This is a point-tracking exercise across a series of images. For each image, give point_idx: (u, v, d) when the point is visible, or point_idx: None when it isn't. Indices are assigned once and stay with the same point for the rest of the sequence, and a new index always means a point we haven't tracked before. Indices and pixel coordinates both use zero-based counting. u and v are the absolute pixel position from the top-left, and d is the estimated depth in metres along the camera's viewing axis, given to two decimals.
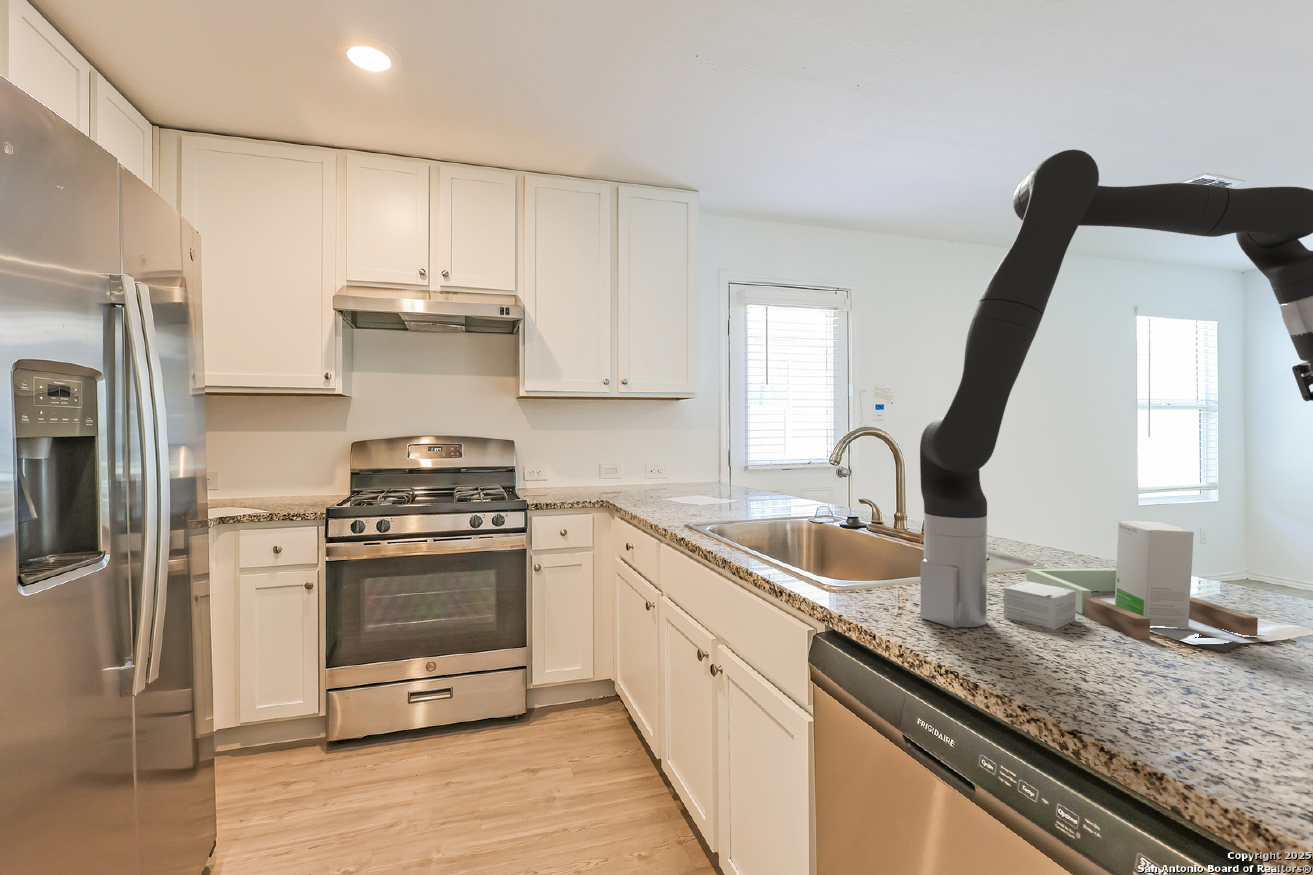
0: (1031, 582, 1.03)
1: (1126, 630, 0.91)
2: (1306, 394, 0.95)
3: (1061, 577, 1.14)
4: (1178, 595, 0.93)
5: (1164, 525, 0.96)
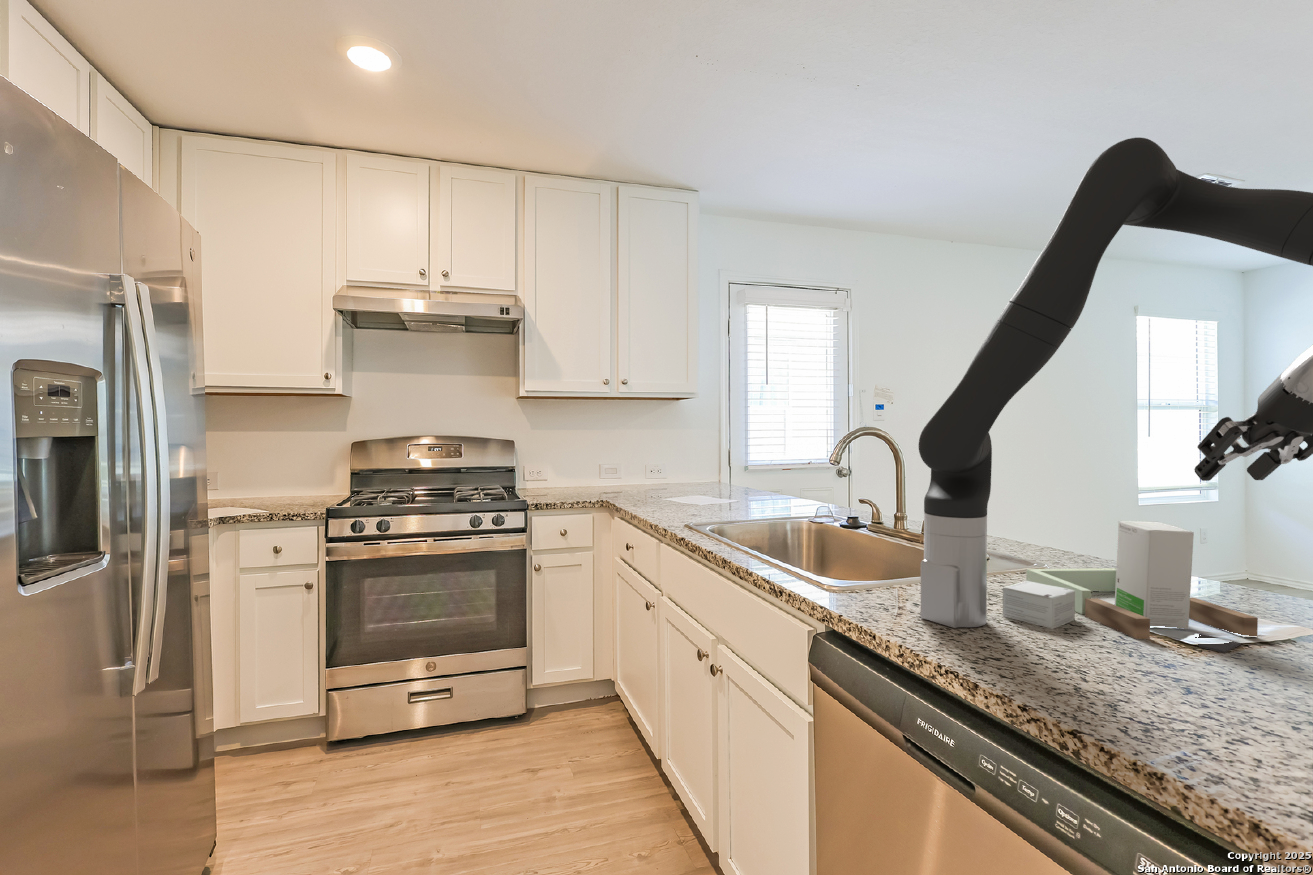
0: (1031, 582, 1.03)
1: (1126, 630, 0.91)
2: None
3: (1061, 577, 1.14)
4: (1178, 595, 0.93)
5: (1164, 525, 0.96)
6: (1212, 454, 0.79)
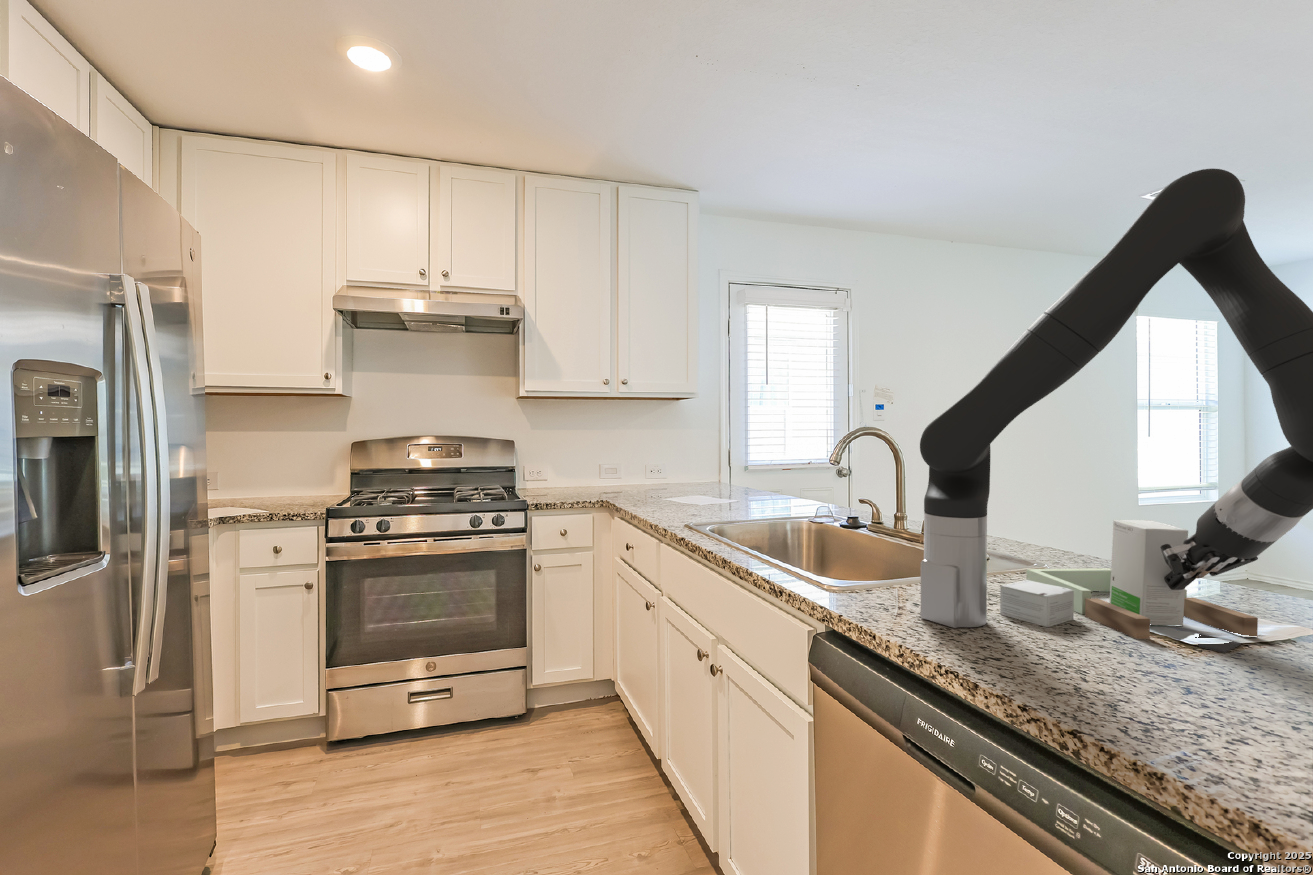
0: (1031, 581, 1.03)
1: (1126, 630, 0.91)
2: None
3: (1061, 577, 1.14)
4: (1173, 593, 0.94)
5: (1158, 524, 0.98)
6: (1177, 570, 0.89)
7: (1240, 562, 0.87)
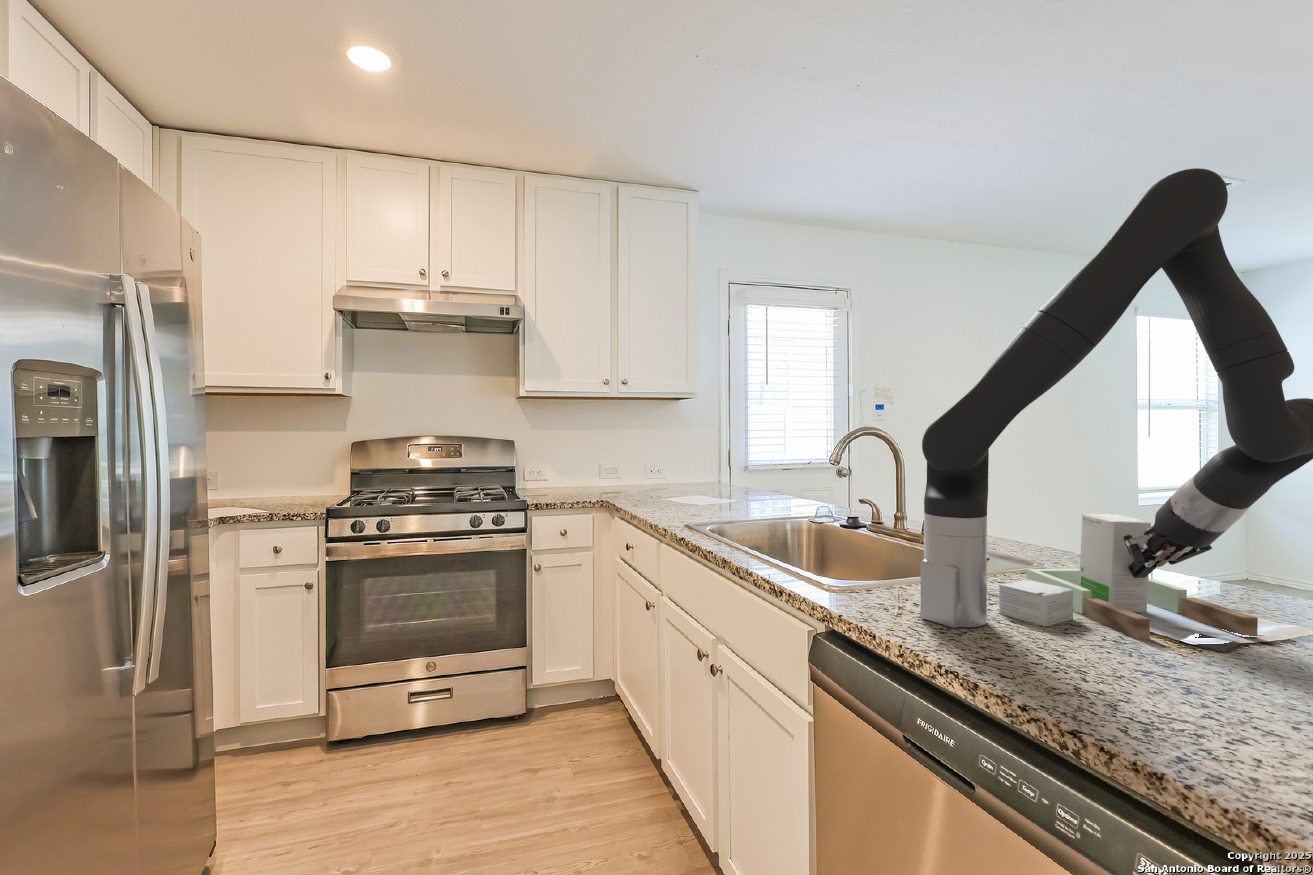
0: (1031, 580, 1.04)
1: (1126, 630, 0.91)
2: None
3: (1061, 577, 1.14)
4: (1138, 581, 1.01)
5: (1123, 517, 1.05)
6: (1139, 559, 0.96)
7: (1196, 552, 0.94)
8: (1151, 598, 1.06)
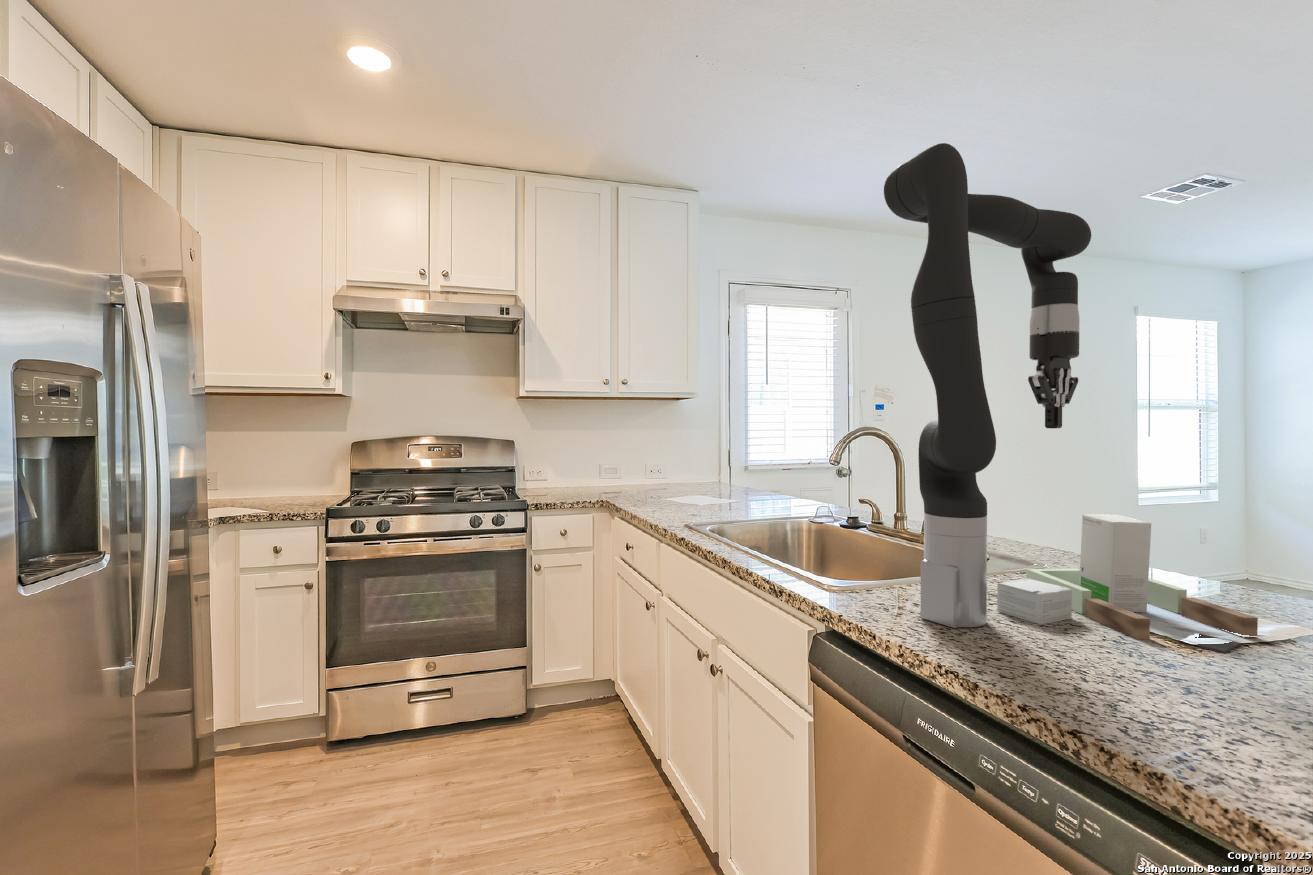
0: (1032, 580, 1.04)
1: (1126, 630, 0.91)
2: None
3: (1061, 577, 1.14)
4: (1138, 581, 1.01)
5: (1123, 517, 1.05)
6: None
7: (1073, 384, 1.10)
8: (1151, 598, 1.06)
